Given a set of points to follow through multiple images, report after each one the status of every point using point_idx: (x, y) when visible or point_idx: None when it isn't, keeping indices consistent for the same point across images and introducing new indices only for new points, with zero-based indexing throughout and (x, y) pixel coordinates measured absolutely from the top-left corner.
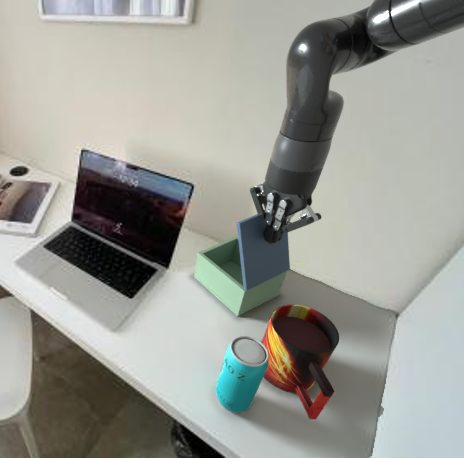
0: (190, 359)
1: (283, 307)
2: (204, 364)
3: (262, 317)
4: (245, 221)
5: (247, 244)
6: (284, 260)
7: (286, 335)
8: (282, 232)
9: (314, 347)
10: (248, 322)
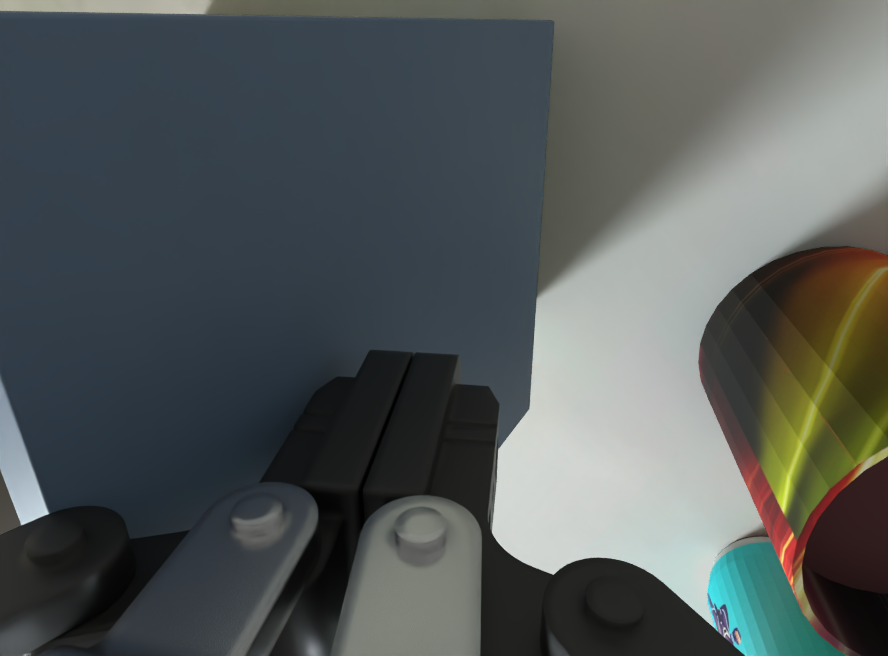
0: (571, 562)
1: (814, 518)
2: (613, 544)
3: (593, 219)
4: None
5: None
6: (511, 84)
7: (869, 512)
8: (490, 512)
9: None
10: (575, 294)
